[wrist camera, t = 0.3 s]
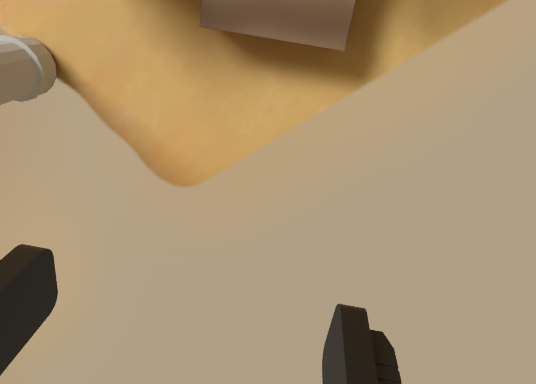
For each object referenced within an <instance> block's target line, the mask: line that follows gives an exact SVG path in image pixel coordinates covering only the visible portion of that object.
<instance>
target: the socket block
mask: <svg viewBox="0 0 536 384" xmlns="http://www.w3.org/2000/svg"><path fill="white" fill-rule="evenodd" d="M355 1H356V0H202V1H201V16H200V27H206V28H212V29H218V30H223V31H229V32H235V33H241V34H247V35H253V36H259V37H265V38H271V39H276V40H282V41H288V42H294V43H300V44H306V45H312V46H318V47H324V48H329V49H335V50H341V51H344V50H345V45H346V41H347V37H348V32H349V28H350V23H351V19H352V14H353V10H354V5H355Z"/></svg>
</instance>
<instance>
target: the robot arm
mask: <svg viewBox="0 0 536 384" xmlns="http://www.w3.org/2000/svg"><path fill="white" fill-rule="evenodd" d="M57 293H58V290H57V281H56V273H55V265H54V257H53V253H52V251H51V250H50V249H45V248H40V247H35V246H30V245H24V244H21V245H18V246H17V247H15V248H14V249H13V250H12V251H11V252H9V253H8V254H7V255H6V256H5V257H4V258H3V259H1V260H0V375H1V374H2V373H3V371H4V370H5V369H6V368H7V367H8V365H9V364H10V363H11V362H12V360H13V359H14V358H15V357H16V355H17V354H18V353H19V352H20V351H21V349H22V348H23V347H24V345H25V344H26V343H27V342H28V341H29V339H30V338H31V337H32V336H33V334H34V333H35V332H36V331H37V329H38V328H39V327H40V326H41V325H42V323H43V322H44V321H45V319H46V318H47V317H48V316H49V315H50V313H51V312H52V310H53V308H54V306H55V303H56V300H57ZM322 377H323V384H401V378H400V374H399V371H398V365H397V360H396V356H395V351H394V348H393V347H392V345H391V344H390V342H389V341H388V339H387V338H386V336H385V335H384V333H383V332H380V331H375V330H370V329H369V323H368V317H367V312H366V309H364V308H359V307H354V306H348V305H343V304H338V305H337V306H336V309H335V312H334V315H333V318H332V322H331V325H330V328H329V331H328V335H327V338H326V341H325V345H324V351H323V360H322Z"/></svg>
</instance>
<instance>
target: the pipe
mask: <svg viewBox="0 0 536 384" xmlns="http://www.w3.org/2000/svg"><path fill="white" fill-rule="evenodd" d="M56 76H57V75H56V64H55V62H54V60H53V57H52V55H51V53H50V52H49V51H48V50H47V49H46V47H45V46H44V45H43V44H42V43H40V42H38V41H37V40H35V39H33V38H32V37H28V36H23V35H14V36H10V35H1V36H0V105H1V104H4V103H7V102H10V101H13V100H15V101H21V102H22V101H27V100H30V99H33V98H36V97H37V96H38V95H40V94H43V93H46V92H47V91H48V90H49V89H50V88H51V87H52V86H53V84H54V82H55V79H56Z"/></svg>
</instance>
